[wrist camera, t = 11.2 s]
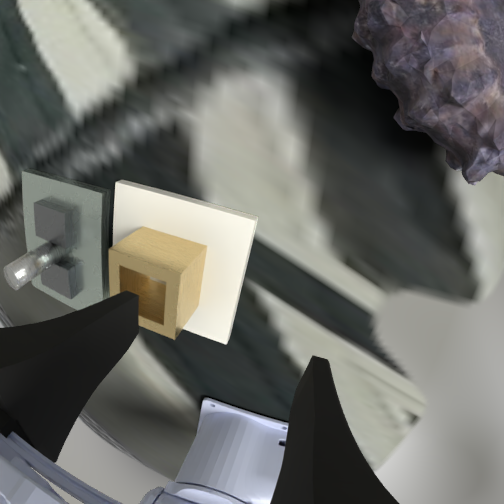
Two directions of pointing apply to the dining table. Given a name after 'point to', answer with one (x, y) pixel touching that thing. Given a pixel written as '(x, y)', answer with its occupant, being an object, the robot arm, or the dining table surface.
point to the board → (200, 231)
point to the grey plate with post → (64, 239)
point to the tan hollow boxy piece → (159, 277)
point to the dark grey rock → (443, 73)
